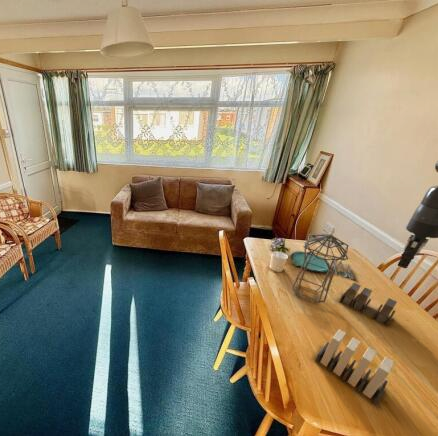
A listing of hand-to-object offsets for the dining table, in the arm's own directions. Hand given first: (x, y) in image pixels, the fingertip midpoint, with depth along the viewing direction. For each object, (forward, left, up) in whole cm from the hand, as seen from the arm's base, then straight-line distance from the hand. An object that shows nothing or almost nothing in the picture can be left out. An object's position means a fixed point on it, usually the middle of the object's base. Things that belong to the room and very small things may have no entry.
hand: (404, 262), depth 78 cm
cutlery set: (+30, -37, -36) cm, 60 cm away
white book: (0, +25, -35) cm, 43 cm away
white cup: (+43, -13, -36) cm, 58 cm away
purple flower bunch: (+52, -33, -36) cm, 71 cm away
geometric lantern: (+23, -4, -36) cm, 43 cm away
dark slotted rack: (-2, +25, -36) cm, 44 cm away
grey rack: (+4, -16, -36) cm, 40 cm away
